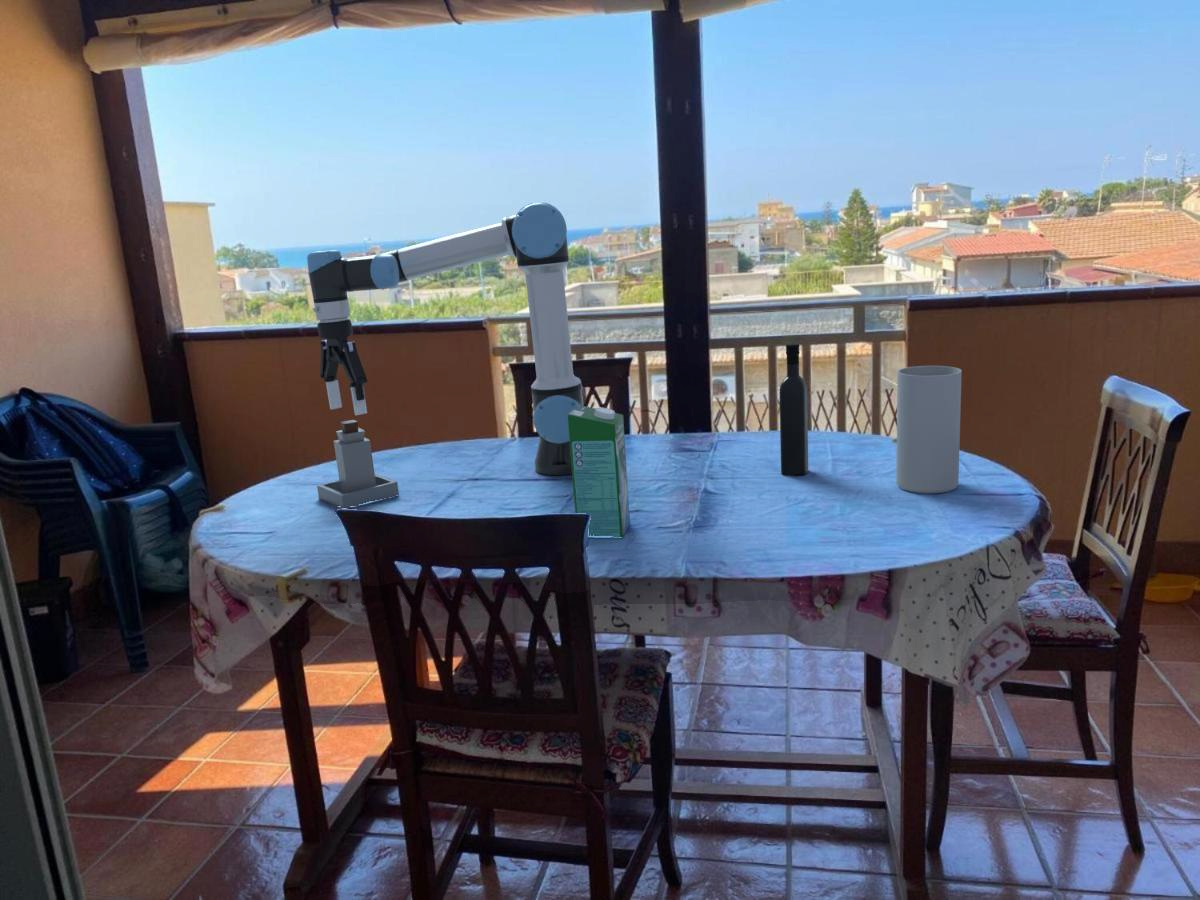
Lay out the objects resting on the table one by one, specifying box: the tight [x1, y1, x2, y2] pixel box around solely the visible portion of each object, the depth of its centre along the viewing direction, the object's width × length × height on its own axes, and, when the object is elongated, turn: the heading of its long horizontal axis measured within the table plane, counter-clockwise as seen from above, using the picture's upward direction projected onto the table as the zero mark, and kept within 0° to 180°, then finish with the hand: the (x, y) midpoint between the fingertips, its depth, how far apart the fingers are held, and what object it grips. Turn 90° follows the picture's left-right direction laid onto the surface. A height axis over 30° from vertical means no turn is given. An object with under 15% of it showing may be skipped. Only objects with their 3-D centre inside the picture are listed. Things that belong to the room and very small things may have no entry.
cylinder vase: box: [895, 365, 962, 495], centre depth 190 cm, size 12×12×25 cm
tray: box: [316, 473, 400, 509], centre depth 215 cm, size 14×14×4 cm
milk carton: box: [568, 405, 631, 538], centre depth 177 cm, size 9×9×25 cm
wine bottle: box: [778, 343, 809, 476], centre depth 207 cm, size 6×6×30 cm
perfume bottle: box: [333, 419, 376, 494], centre depth 213 cm, size 7×7×18 cm
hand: (348, 411), depth 210 cm, fingers open, 13 cm apart
